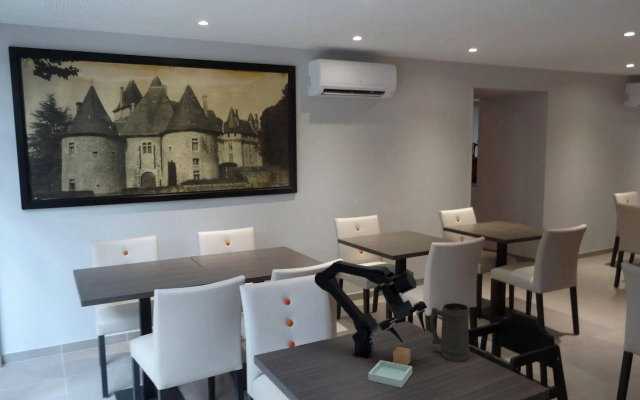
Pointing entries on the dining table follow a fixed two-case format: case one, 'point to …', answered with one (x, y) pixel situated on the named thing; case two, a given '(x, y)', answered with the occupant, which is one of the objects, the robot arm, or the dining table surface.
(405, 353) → the orange cube
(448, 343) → the beer stein
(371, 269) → the robot arm
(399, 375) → the sage tray
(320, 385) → the dining table surface
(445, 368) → the dining table surface
